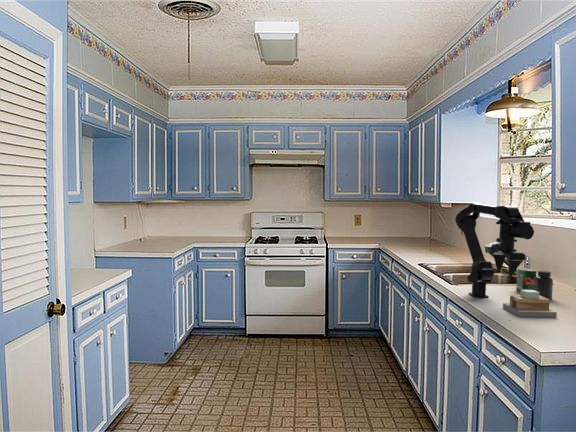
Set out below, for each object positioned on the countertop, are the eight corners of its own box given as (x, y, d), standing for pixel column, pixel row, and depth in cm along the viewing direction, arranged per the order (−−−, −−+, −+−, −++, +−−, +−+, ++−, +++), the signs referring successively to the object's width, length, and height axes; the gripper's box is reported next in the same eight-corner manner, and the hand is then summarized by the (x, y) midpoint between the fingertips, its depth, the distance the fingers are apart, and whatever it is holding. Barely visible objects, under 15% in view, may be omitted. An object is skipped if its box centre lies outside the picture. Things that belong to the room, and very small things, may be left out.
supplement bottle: (545, 296, 192) (547, 269, 191) (555, 300, 185) (557, 273, 185) (530, 295, 192) (532, 269, 191) (540, 299, 185) (541, 272, 184)
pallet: (509, 305, 168) (510, 295, 168) (539, 305, 168) (540, 295, 168) (517, 309, 162) (518, 299, 162) (549, 309, 162) (549, 299, 162)
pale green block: (520, 295, 167) (520, 289, 167) (532, 296, 167) (533, 289, 167) (526, 298, 163) (526, 292, 163) (539, 298, 163) (539, 292, 163)
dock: (502, 307, 171) (503, 302, 171) (537, 308, 171) (537, 303, 171) (519, 316, 159) (519, 311, 159) (556, 317, 160) (556, 312, 159)
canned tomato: (521, 289, 204) (522, 266, 203) (538, 293, 198) (539, 269, 197) (512, 291, 199) (514, 268, 199) (530, 295, 193) (531, 271, 192)
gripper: (477, 233, 184) (475, 268, 185) (499, 238, 166) (496, 278, 167) (502, 233, 184) (500, 269, 186) (527, 239, 166) (524, 278, 167)
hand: (504, 273), depth 176 cm, fingers open, 9 cm apart
